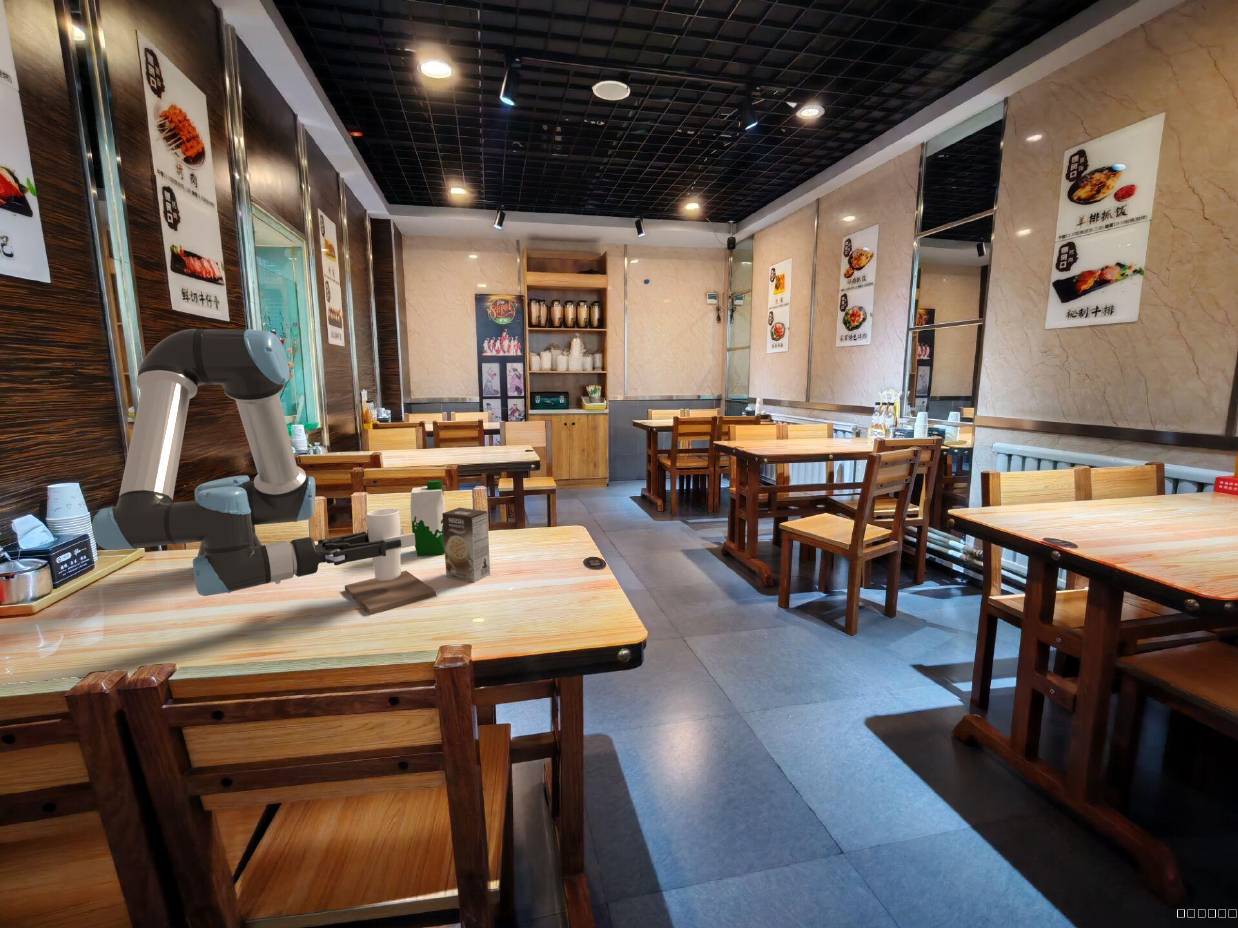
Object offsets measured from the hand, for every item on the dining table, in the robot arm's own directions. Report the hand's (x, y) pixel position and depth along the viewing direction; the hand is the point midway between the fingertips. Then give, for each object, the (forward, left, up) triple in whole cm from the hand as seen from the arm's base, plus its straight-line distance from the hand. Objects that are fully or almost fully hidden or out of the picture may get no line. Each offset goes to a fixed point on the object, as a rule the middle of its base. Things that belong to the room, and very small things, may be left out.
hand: (408, 536), depth 123 cm
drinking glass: (0, -5, -9) cm, 10 cm away
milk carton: (-23, +14, -12) cm, 30 cm away
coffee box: (+2, +13, -12) cm, 18 cm away
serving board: (0, -5, -12) cm, 13 cm away
